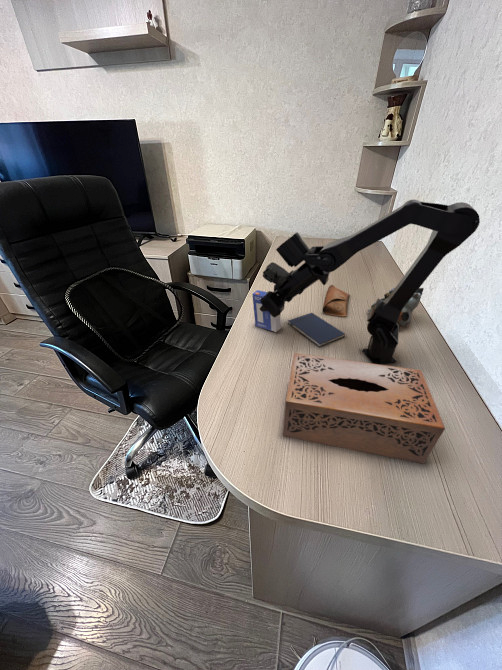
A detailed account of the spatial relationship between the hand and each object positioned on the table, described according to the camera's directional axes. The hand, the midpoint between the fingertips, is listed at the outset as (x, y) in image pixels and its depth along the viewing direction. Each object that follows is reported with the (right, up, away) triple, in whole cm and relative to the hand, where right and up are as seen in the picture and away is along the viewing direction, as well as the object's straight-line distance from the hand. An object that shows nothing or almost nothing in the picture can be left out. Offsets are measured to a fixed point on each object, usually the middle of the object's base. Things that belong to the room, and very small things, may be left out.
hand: (262, 307), depth 84 cm
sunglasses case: (+28, +3, +17) cm, 33 cm away
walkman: (+2, -6, +4) cm, 7 cm away
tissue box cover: (+17, -26, -26) cm, 40 cm away
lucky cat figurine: (+43, -3, +9) cm, 44 cm away
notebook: (+17, -7, +3) cm, 18 cm away
